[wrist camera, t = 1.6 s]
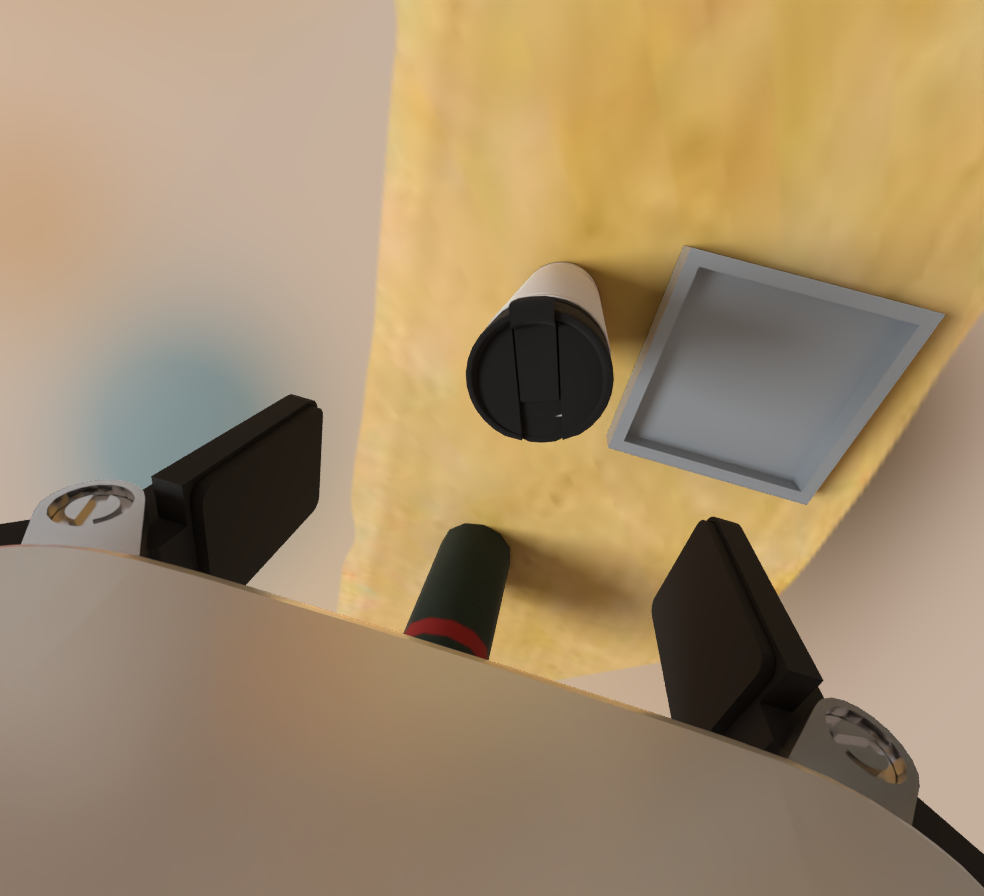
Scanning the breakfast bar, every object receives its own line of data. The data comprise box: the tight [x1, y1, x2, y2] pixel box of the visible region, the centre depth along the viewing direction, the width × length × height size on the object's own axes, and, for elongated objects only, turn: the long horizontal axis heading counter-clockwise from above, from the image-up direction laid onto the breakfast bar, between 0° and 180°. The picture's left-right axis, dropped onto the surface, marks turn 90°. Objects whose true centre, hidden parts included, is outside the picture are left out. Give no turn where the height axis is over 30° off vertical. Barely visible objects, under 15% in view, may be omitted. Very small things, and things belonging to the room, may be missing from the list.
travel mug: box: [466, 262, 614, 442], centre depth 27 cm, size 6×7×20 cm
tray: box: [607, 246, 946, 505], centre depth 34 cm, size 16×17×2 cm
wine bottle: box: [403, 524, 510, 660], centre depth 36 cm, size 8×10×30 cm
